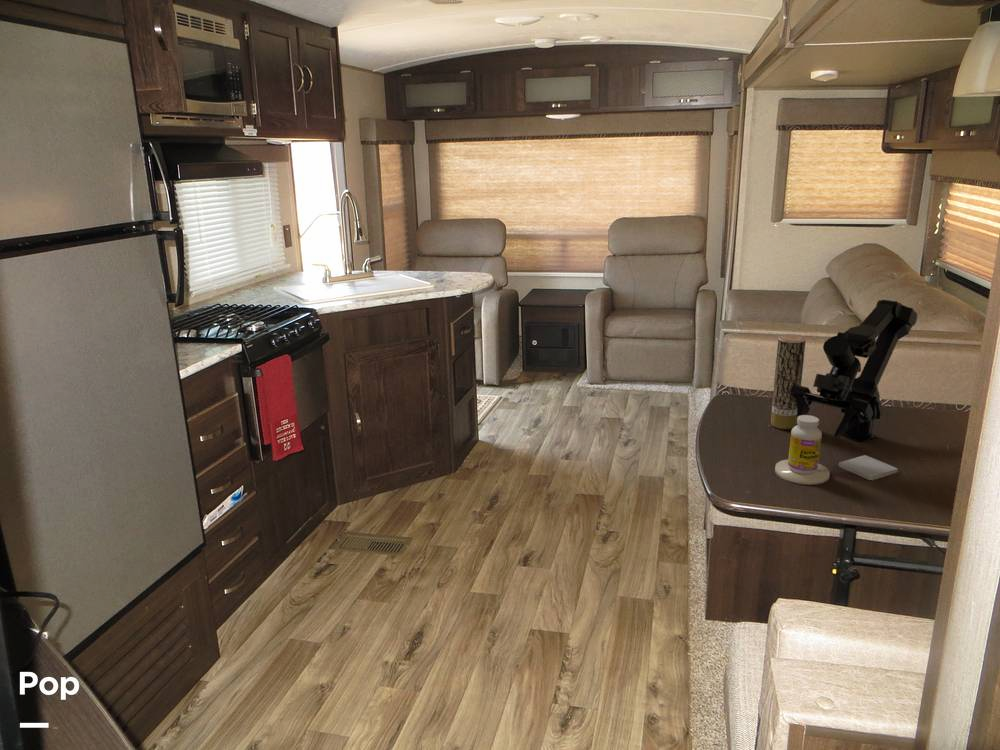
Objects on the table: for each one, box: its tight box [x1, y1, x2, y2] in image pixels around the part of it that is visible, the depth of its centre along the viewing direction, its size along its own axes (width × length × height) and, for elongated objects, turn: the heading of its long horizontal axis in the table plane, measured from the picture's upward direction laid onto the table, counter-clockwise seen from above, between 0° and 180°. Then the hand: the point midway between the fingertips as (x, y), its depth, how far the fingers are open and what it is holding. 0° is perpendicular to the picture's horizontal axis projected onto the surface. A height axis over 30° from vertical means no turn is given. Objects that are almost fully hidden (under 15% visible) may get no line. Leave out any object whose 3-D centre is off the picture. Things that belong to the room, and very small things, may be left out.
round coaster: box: [774, 458, 831, 486], centre depth 179 cm, size 12×12×1 cm
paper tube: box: [770, 333, 807, 430], centre depth 203 cm, size 7×7×25 cm
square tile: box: [838, 454, 899, 481], centre depth 180 cm, size 9×9×1 cm
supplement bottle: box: [787, 414, 823, 474], centre depth 177 cm, size 7×7×13 cm
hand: (816, 432), depth 180 cm, fingers open, 9 cm apart
